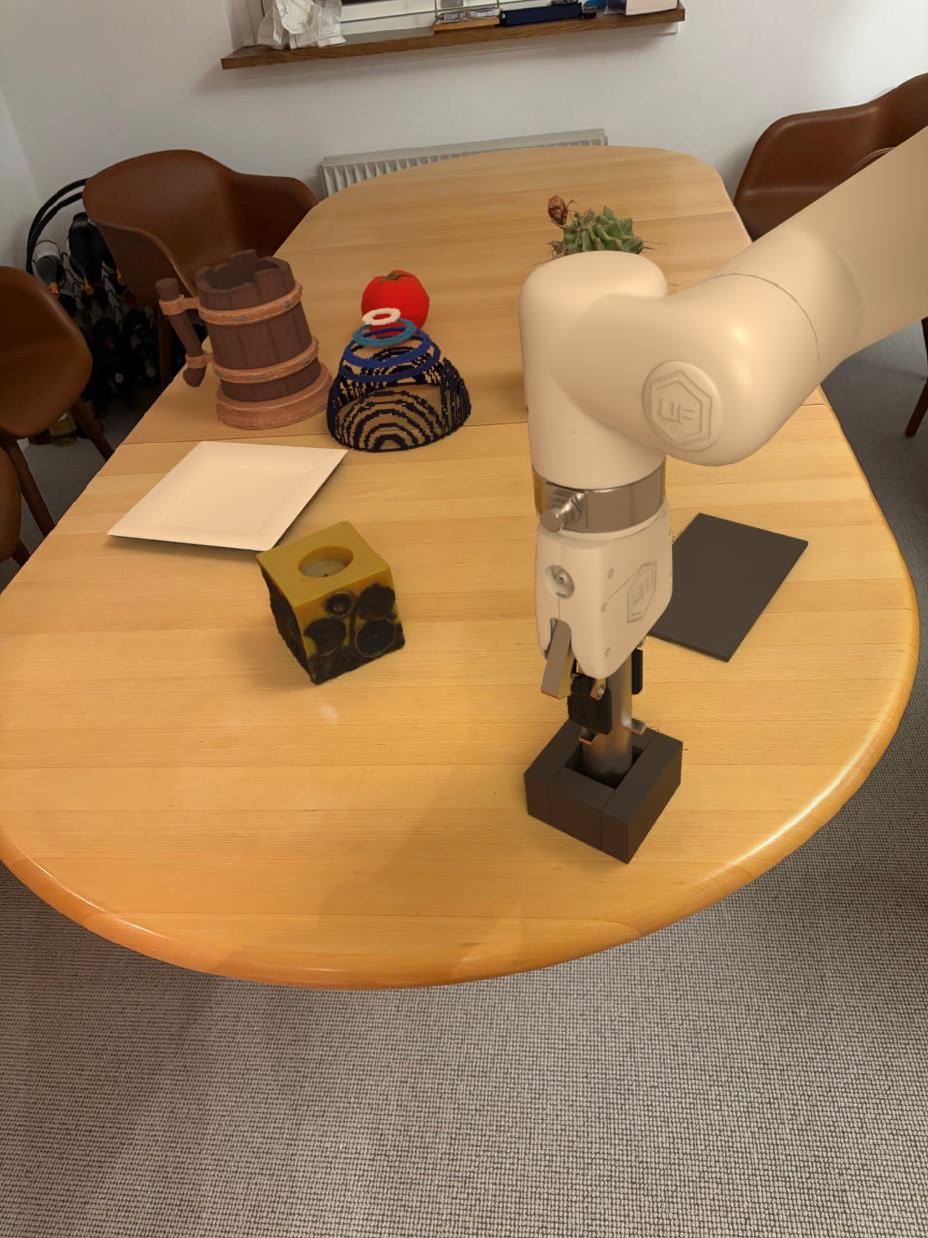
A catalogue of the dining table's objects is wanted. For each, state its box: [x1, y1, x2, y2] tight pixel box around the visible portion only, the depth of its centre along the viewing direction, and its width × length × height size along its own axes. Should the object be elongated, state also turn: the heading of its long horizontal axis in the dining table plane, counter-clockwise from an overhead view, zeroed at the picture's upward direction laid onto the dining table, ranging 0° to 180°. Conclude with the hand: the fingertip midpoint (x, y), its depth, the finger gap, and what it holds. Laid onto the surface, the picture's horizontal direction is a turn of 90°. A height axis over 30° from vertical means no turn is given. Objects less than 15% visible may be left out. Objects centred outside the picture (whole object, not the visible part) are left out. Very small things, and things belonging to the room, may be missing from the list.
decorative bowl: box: [325, 308, 472, 454], centre depth 119 cm, size 20×20×14 cm
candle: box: [255, 520, 406, 686], centre depth 85 cm, size 10×10×10 cm
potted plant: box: [517, 195, 680, 287], centre depth 114 cm, size 18×20×25 cm
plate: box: [106, 440, 349, 553], centre depth 110 cm, size 22×22×2 cm
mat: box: [646, 512, 809, 663], centre depth 88 cm, size 12×20×1 cm, turn 144°
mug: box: [155, 248, 335, 430], centre depth 126 cm, size 18×23×20 cm
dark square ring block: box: [523, 717, 684, 865], centre depth 68 cm, size 9×9×5 cm
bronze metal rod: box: [566, 654, 648, 785], centre depth 63 cm, size 6×6×12 cm
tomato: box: [360, 269, 430, 338], centre depth 142 cm, size 11×13×10 cm
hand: (605, 703), depth 62 cm, fingers closed on bronze metal rod, 3 cm apart
